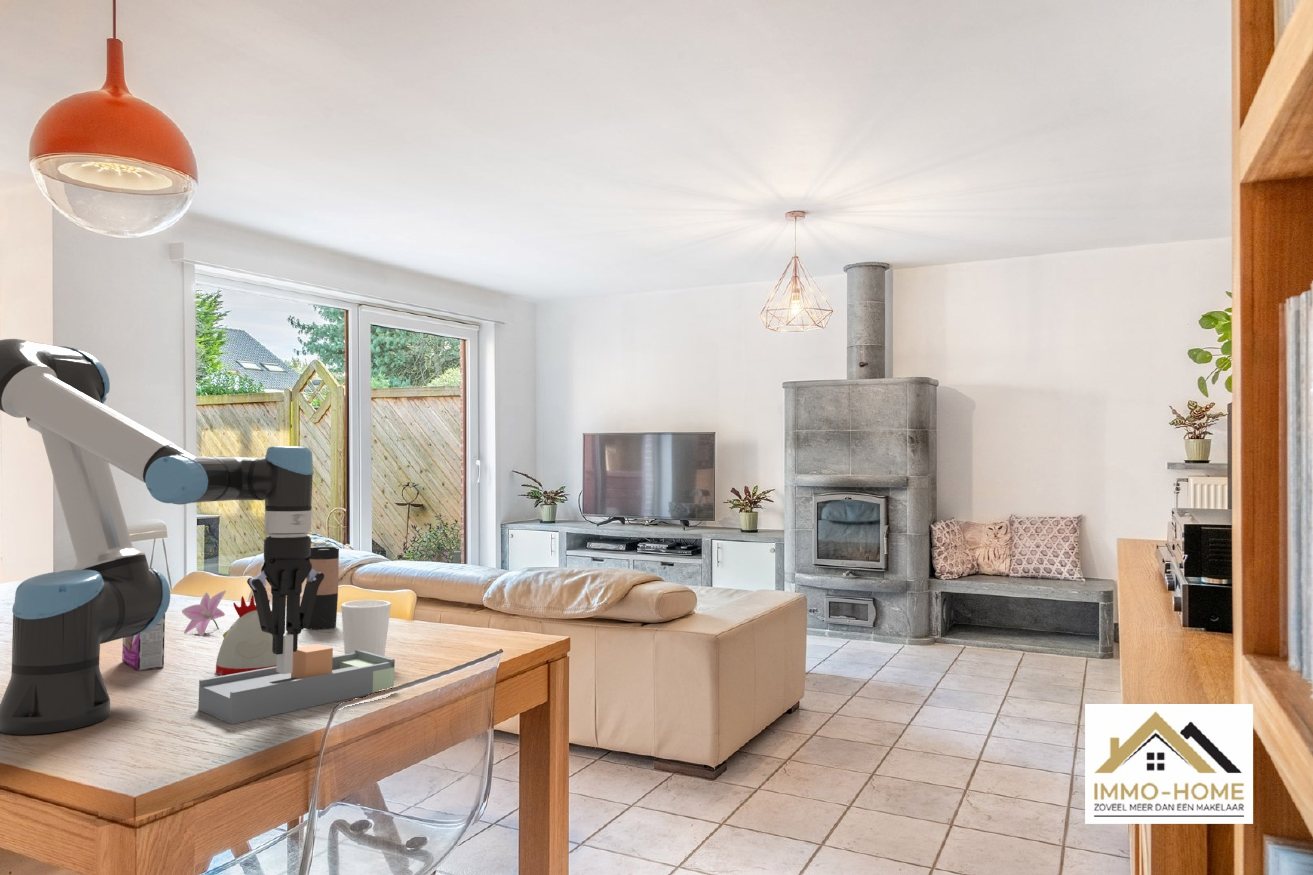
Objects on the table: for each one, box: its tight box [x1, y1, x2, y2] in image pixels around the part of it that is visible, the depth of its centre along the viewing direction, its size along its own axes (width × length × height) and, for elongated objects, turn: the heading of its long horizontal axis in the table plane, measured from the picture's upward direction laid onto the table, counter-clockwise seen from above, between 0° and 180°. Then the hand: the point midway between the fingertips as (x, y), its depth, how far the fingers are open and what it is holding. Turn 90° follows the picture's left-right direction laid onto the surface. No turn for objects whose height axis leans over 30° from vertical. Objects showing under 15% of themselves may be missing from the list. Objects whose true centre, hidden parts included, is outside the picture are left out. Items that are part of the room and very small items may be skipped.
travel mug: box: [305, 546, 340, 630], centre depth 220 cm, size 8×8×20 cm
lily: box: [181, 590, 227, 637], centre depth 211 cm, size 12×12×10 cm
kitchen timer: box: [215, 594, 277, 676], centre depth 175 cm, size 14×14×15 cm
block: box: [291, 643, 334, 679], centre depth 154 cm, size 5×5×5 cm
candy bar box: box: [121, 613, 166, 672], centre depth 177 cm, size 11×5×16 cm, turn 47°
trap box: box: [197, 650, 396, 725], centre depth 154 cm, size 30×12×6 cm, turn 141°
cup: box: [340, 599, 392, 657], centre depth 180 cm, size 10×10×13 cm
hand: (284, 671), depth 148 cm, fingers closed
